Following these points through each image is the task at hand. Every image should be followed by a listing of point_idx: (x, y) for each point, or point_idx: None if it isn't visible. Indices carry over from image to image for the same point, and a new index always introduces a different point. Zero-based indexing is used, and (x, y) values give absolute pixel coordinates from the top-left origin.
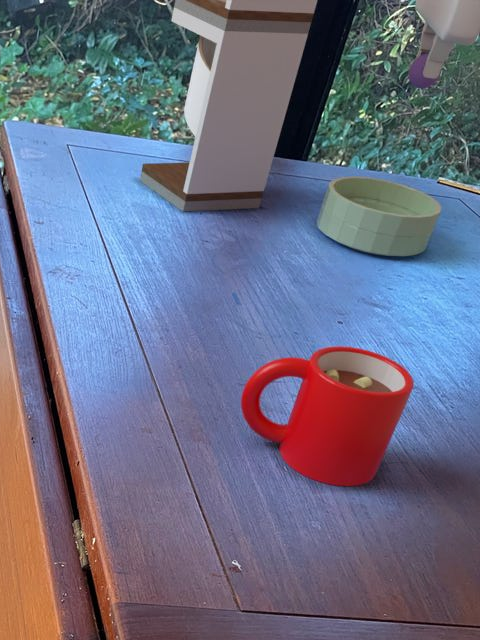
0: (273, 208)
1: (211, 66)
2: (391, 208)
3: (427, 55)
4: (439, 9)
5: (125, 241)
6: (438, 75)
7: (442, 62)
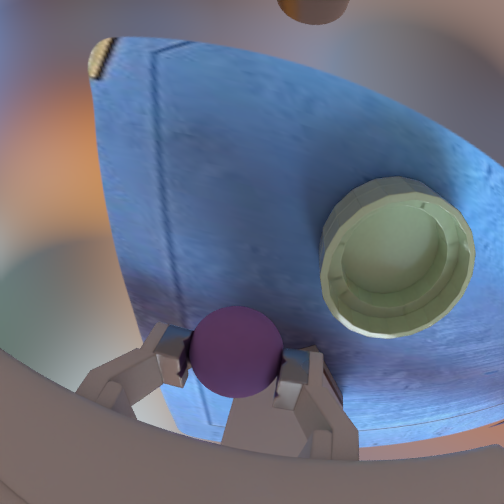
0: (311, 331)
1: None
2: (356, 226)
3: (238, 396)
4: None
5: (404, 419)
6: (322, 356)
7: (321, 387)
